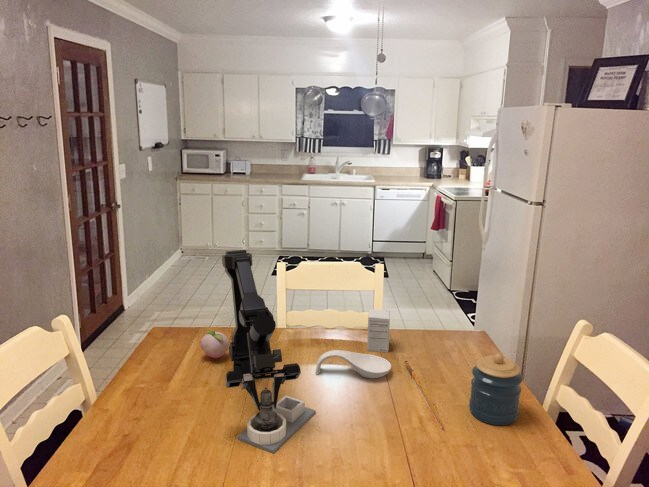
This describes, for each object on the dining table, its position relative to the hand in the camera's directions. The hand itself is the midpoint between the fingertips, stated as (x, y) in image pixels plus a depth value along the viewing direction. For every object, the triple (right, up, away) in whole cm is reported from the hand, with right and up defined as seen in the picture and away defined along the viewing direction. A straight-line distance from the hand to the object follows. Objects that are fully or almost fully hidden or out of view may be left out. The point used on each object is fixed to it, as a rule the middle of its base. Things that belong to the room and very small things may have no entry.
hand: (267, 409), depth 131 cm
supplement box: (+33, +5, +53) cm, 62 cm away
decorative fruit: (-22, +3, +44) cm, 49 cm away
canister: (+61, -6, +14) cm, 63 cm away
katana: (+43, -3, +23) cm, 49 cm away
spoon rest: (+23, 0, +35) cm, 42 cm away
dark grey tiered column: (0, -6, +3) cm, 7 cm away
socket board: (+2, -7, +7) cm, 10 cm away
